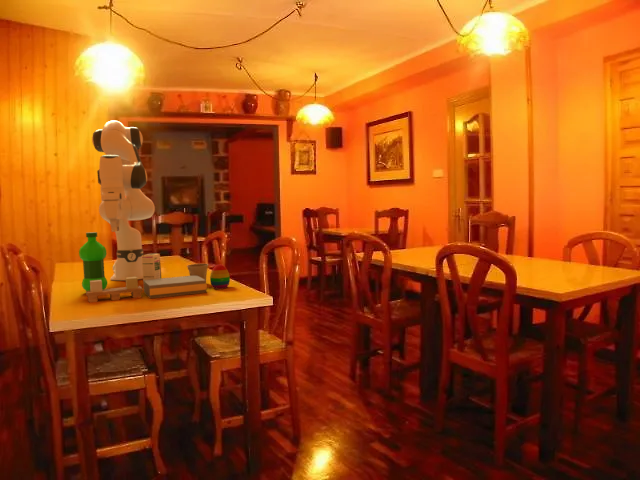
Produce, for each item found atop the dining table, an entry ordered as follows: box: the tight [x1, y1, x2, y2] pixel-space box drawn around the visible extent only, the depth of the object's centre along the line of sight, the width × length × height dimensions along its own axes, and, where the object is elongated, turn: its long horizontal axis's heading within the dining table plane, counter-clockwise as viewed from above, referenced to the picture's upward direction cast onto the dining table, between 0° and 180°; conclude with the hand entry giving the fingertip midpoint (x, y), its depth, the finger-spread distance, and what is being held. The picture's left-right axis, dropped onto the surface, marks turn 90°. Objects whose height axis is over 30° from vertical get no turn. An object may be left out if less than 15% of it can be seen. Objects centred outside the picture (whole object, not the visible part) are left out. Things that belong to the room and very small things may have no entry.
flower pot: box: [186, 263, 209, 281], centre depth 238 cm, size 9×9×9 cm
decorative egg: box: [209, 263, 231, 290], centre depth 228 cm, size 8×8×10 cm
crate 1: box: [90, 280, 102, 292], centre depth 207 cm, size 4×4×4 cm
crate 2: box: [125, 277, 139, 289], centre depth 213 cm, size 4×4×4 cm
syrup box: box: [142, 253, 162, 285], centre depth 233 cm, size 6×6×14 cm
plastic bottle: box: [78, 231, 108, 292], centre depth 224 cm, size 10×10×25 cm
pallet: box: [85, 285, 143, 303], centre depth 210 cm, size 6×20×4 cm, turn 116°
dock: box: [142, 275, 208, 299], centre depth 220 cm, size 17×22×5 cm
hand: (115, 231), depth 212 cm, fingers open, 8 cm apart
